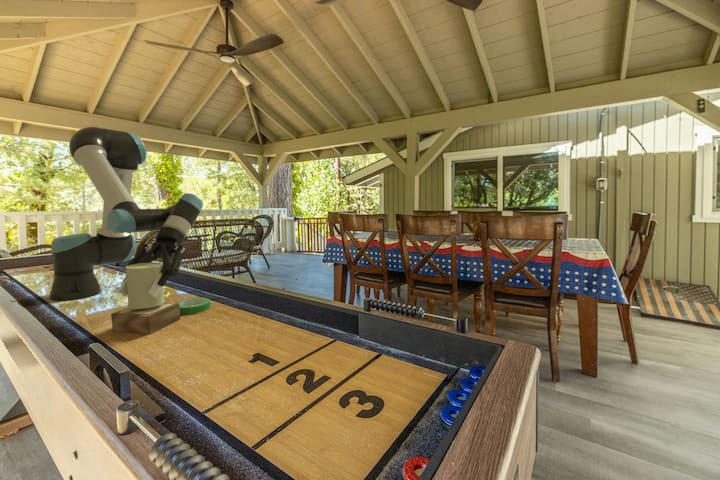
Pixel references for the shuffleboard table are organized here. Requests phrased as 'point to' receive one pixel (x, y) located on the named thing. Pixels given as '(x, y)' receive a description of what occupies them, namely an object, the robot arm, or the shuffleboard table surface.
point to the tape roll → (197, 303)
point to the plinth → (145, 318)
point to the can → (143, 285)
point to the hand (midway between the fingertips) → (136, 294)
